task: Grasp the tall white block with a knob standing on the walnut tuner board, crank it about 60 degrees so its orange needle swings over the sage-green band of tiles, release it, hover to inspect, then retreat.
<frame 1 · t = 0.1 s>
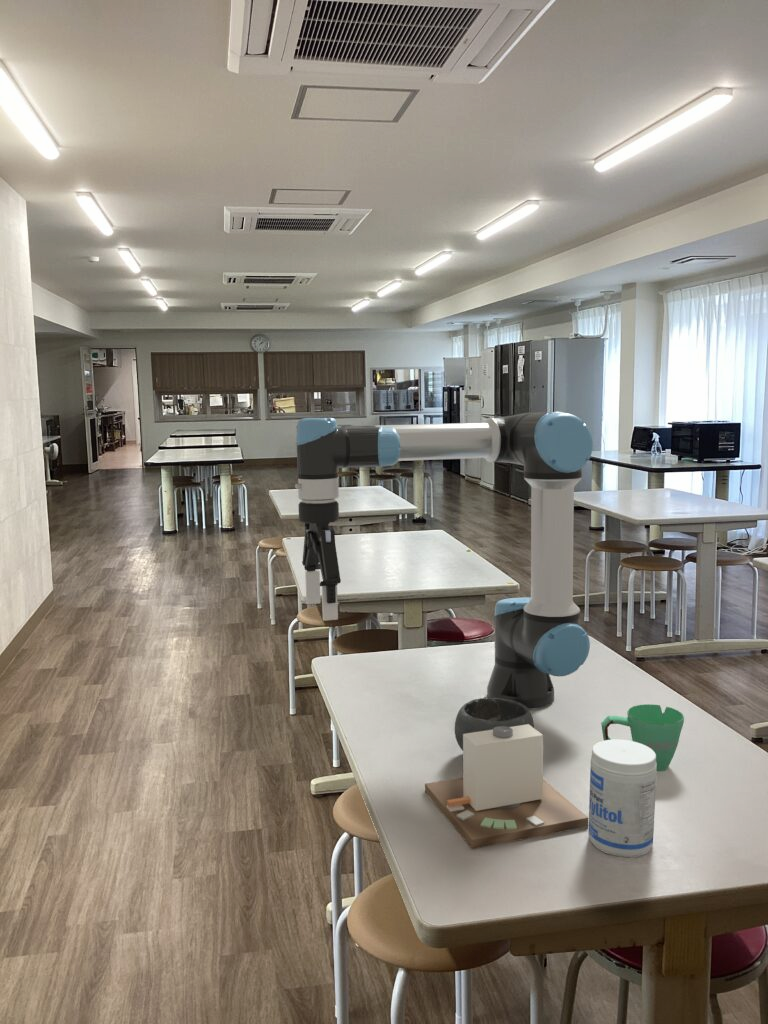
hand: (321, 611, 158), 28 cm above the table, fingers open, 13 cm apart
supplement tub: (621, 844, 126), on the table
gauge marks: (502, 799, 137), resting on tuner board
white block with knob: (492, 765, 136), point 8 cm above the table, hinge at 0.0°
tuner board: (502, 808, 138), on the table
bowl: (494, 760, 157), on the table
mug: (640, 767, 153), on the table
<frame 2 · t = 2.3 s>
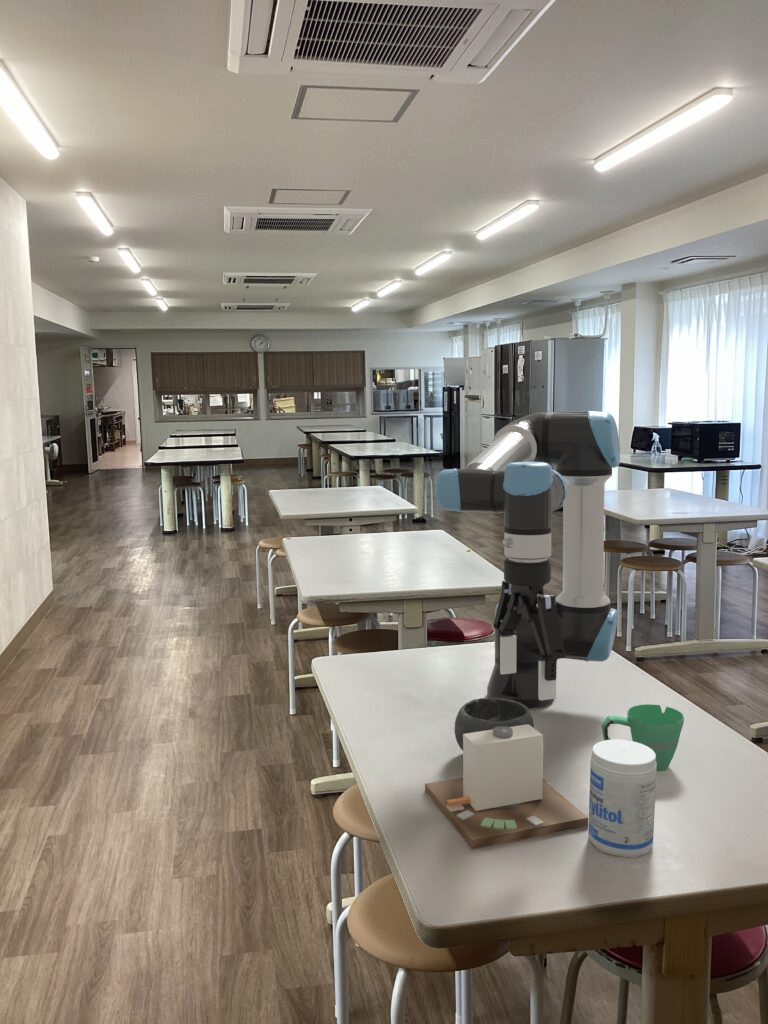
hand: (526, 685, 136), 21 cm above the table, fingers open, 13 cm apart
nothing on the table moved.
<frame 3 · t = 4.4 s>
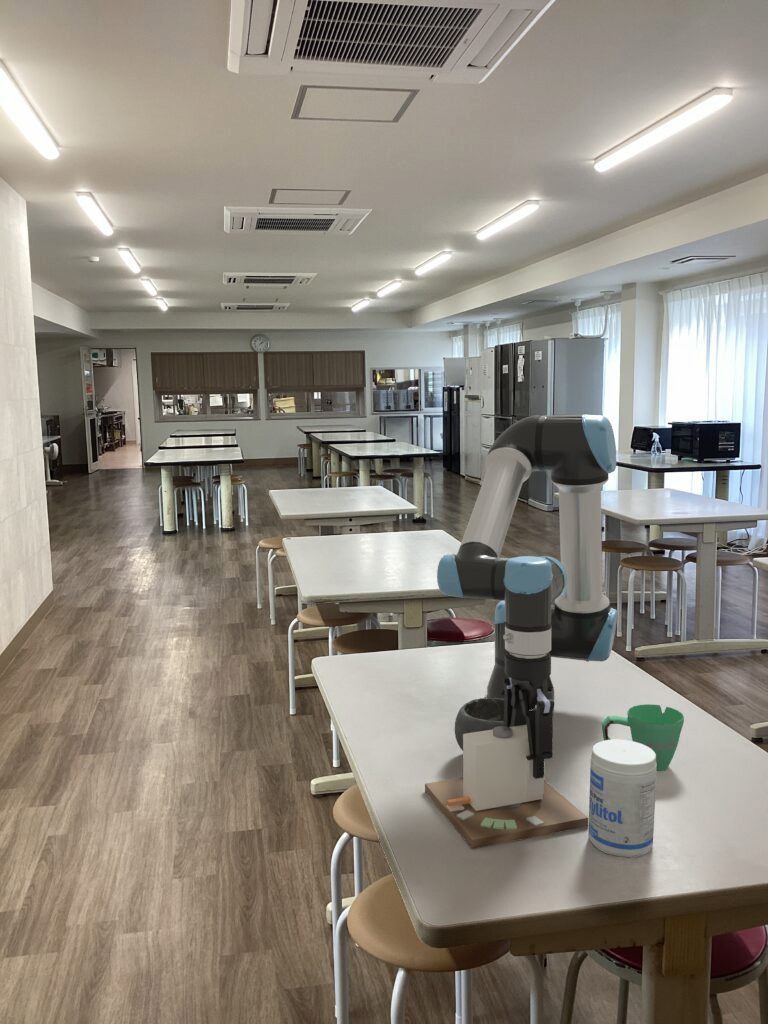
hand: (527, 786, 139), 3 cm above the table, fingers closed on white block with knob, 5 cm apart
white block with knob: (492, 765, 136), point 8 cm above the table, hinge at 0.0°, touching gripper
everything else where it was.
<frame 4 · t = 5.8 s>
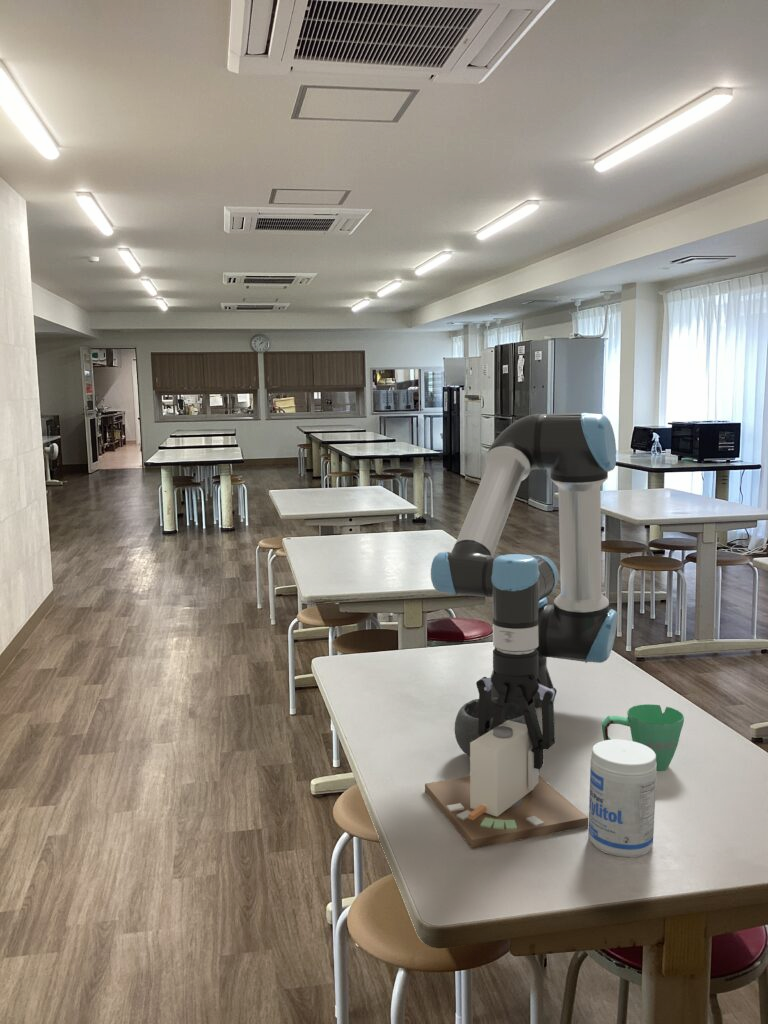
hand: (516, 781, 141), 3 cm above the table, fingers closed on white block with knob, 5 cm apart
white block with knob: (496, 768, 135), point 8 cm above the table, hinge at 33.4°, touching gripper
everything else where it was.
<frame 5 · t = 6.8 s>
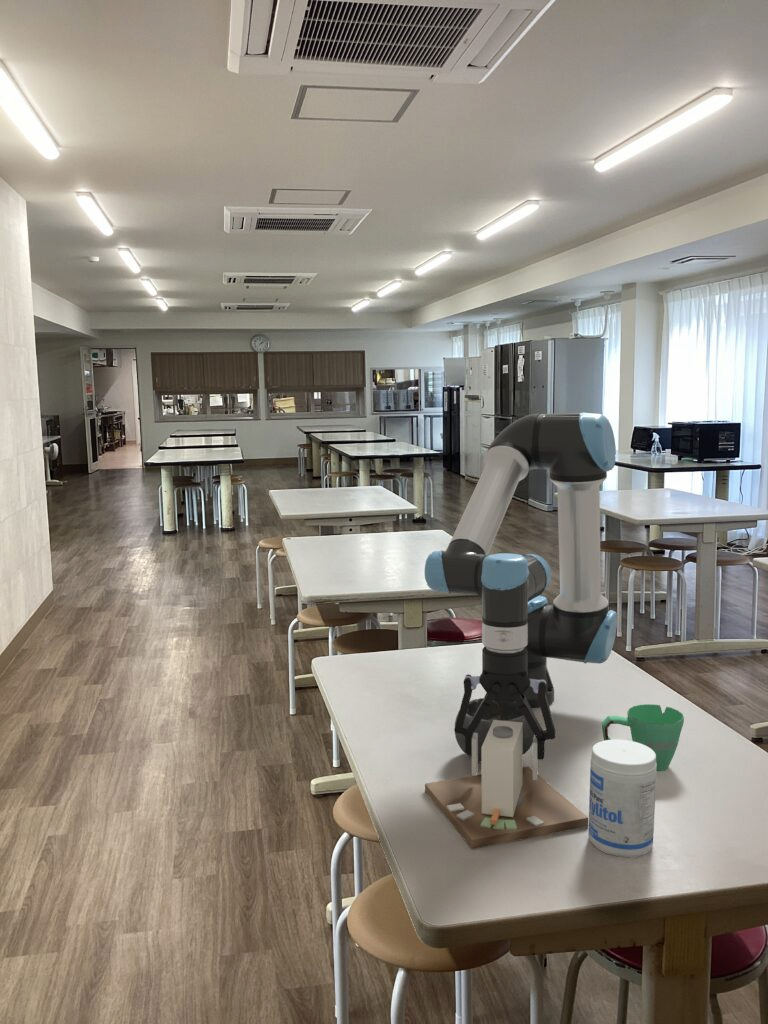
hand: (504, 774, 141), 4 cm above the table, fingers open, 9 cm apart
white block with knob: (501, 769, 135), point 8 cm above the table, hinge at 55.5°
everything else where it was.
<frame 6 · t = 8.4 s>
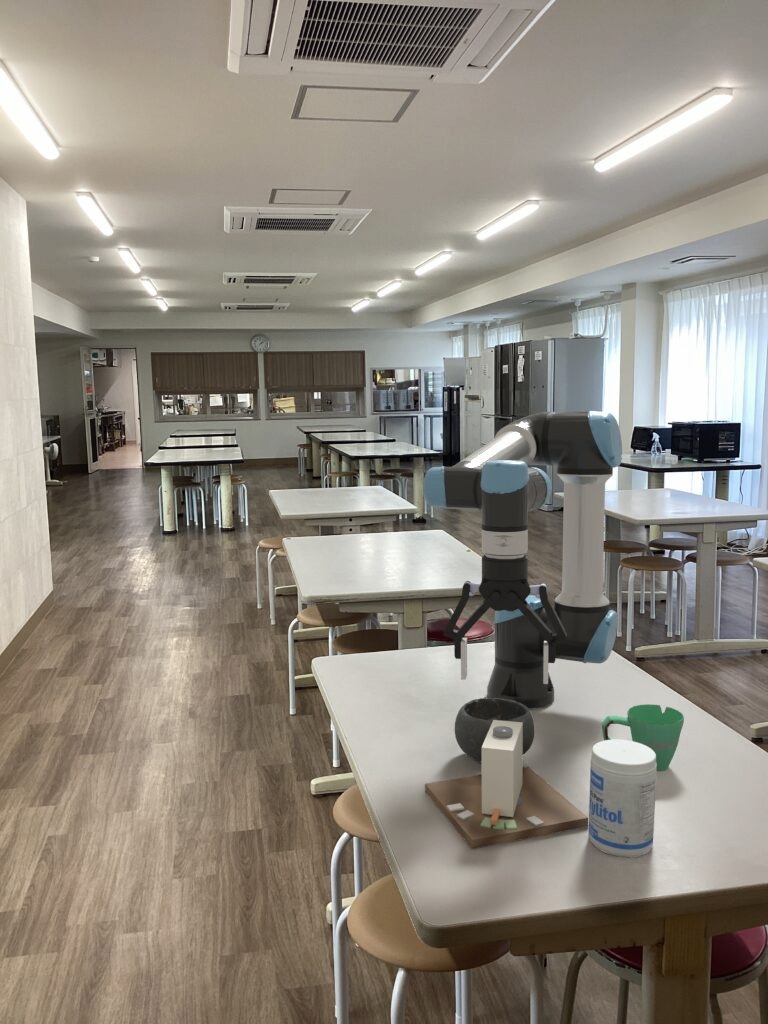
hand: (504, 679, 139), 21 cm above the table, fingers open, 13 cm apart
nothing on the table moved.
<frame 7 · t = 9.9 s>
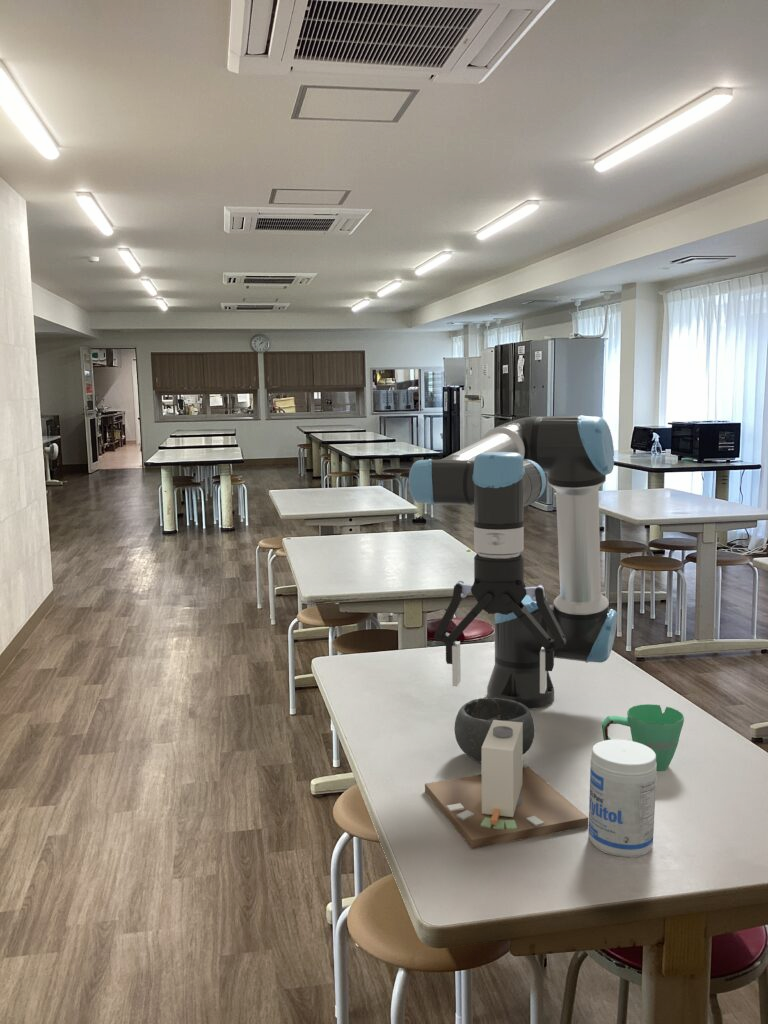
hand: (499, 687, 130), 23 cm above the table, fingers open, 13 cm apart
nothing on the table moved.
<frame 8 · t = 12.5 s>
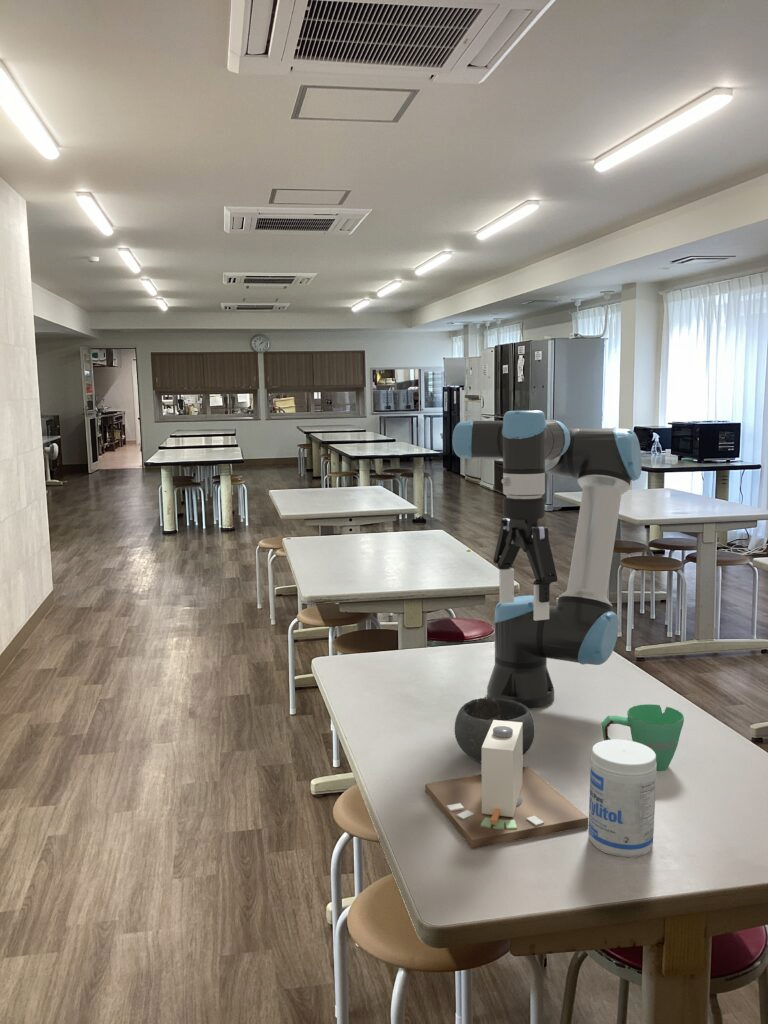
hand: (523, 610, 153), 29 cm above the table, fingers open, 13 cm apart
nothing on the table moved.
at the end: white block with knob at +56° (first picture: +0°); the gripper is holding nothing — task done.
